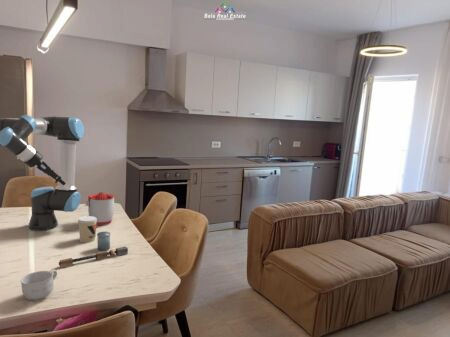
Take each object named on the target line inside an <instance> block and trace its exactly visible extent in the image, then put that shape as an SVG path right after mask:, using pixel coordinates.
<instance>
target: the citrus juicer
mask: <svg viewBox="0 0 450 337" xmlns="http://www.w3.org/2000/svg"><path fill="white" fill-rule="evenodd" d="M84 207H88V216H94V217H96V219H97V223H96V226H106V225H109V224H111V223H112V221H113V218H114V214H115V195H114V194H111V193H104V192H103V191H100V192H99V193H93V194H90V195H88V199H87V201H86V202H85V204H84Z"/></svg>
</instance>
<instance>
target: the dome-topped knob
mask: <svg viewBox="0 0 450 337" xmlns="http://www.w3.org/2000/svg"><path fill="white" fill-rule="evenodd" d="M96 237H97V250H98V252H102V251H110V250H111V241H110V240H111V232H109V231H99V232H97V233H96Z"/></svg>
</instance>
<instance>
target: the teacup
mask: <svg viewBox="0 0 450 337" xmlns="http://www.w3.org/2000/svg"><path fill="white" fill-rule="evenodd" d="M57 277H58V272H57V270H56V269H51V270H38V271H34V272H30V273H27V274H26V275H23V277H21V278H20V284H21V292H22V295H23V297H24V298H26V299H28V300H29V301H39V300H43V299H45V298H47V297H48V296H49V295H50V294H51V293H52V292H53V291H54V281H55V280H56V278H57Z"/></svg>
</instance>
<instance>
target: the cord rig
mask: <svg viewBox="0 0 450 337" xmlns="http://www.w3.org/2000/svg"><path fill="white" fill-rule="evenodd" d="M128 254H129V248H128V247H127V246H126V245H125V246H120V247H116V248H115V250H114V249H109V250H106V251H98V252H95V254H92V255H91V254H90V255H87V256H82V257H77V258H72V257H70V258H69V257H68V258H64V259H59V261H58V266H59V268H60V269H64V268H68V267H73V265H74V263H76V262H77V263H78V262H82V261H87V260H90V259H91V260H92V259H95V260H96V261H99V260H104V259H108V257H109V256H115V255H116V256H118V257H121V256H125V255H128Z"/></svg>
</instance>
